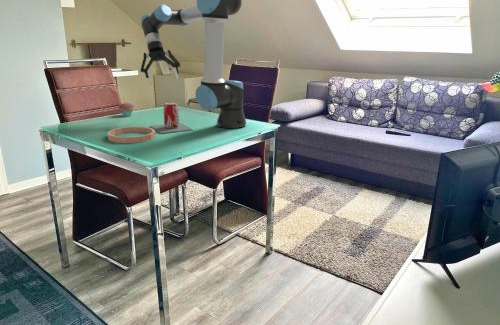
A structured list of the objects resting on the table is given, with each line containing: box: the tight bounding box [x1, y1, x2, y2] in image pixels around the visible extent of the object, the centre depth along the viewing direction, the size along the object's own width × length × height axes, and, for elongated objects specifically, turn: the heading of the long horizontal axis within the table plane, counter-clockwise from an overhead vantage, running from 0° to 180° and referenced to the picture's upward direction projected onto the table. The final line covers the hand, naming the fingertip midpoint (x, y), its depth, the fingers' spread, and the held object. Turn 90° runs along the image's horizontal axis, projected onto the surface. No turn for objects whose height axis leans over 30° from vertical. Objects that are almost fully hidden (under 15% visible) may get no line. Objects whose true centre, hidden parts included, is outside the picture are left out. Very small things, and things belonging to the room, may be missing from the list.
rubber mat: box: [149, 122, 193, 135], centre depth 187 cm, size 16×16×1 cm
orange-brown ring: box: [107, 125, 156, 144], centre depth 170 cm, size 20×20×2 cm
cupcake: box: [118, 95, 135, 118], centre depth 213 cm, size 9×8×12 cm
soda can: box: [163, 101, 180, 129], centre depth 186 cm, size 7×7×12 cm
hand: (164, 81), depth 193 cm, fingers open, 13 cm apart
